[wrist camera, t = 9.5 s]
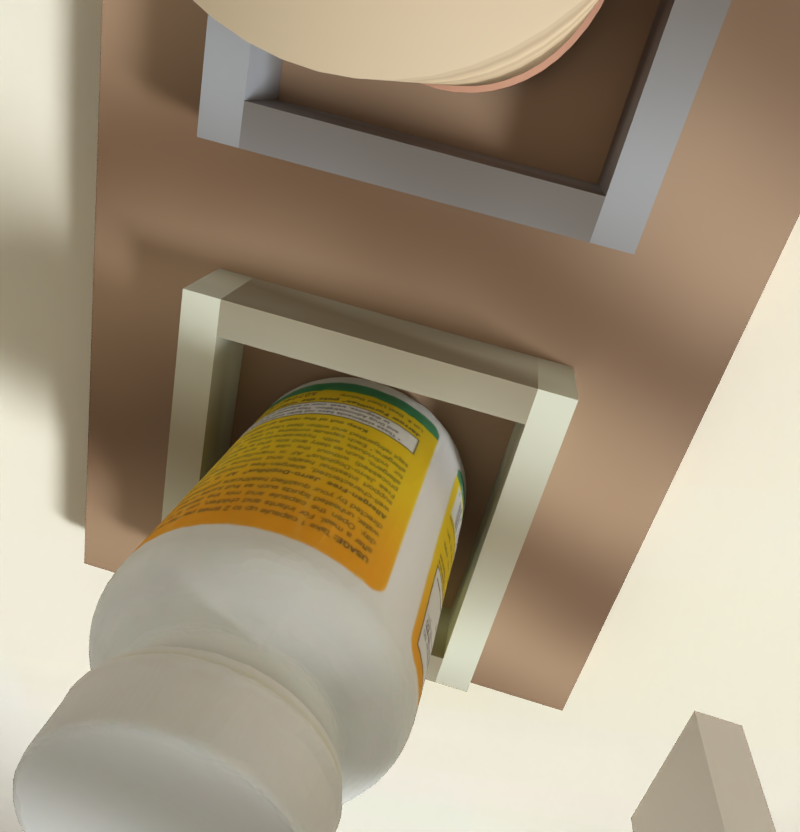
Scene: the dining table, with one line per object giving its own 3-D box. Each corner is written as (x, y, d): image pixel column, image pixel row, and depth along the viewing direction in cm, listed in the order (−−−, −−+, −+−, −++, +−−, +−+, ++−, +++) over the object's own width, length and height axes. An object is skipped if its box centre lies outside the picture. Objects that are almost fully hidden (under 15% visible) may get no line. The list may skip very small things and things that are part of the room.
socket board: (560, 677, 20) (564, 766, 18) (107, 539, 21) (44, 604, 18) (1038, -352, 11) (1208, -503, 8) (160, -538, 11) (45, -734, 9)
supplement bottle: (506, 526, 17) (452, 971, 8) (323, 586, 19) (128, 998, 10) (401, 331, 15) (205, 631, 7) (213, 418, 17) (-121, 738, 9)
